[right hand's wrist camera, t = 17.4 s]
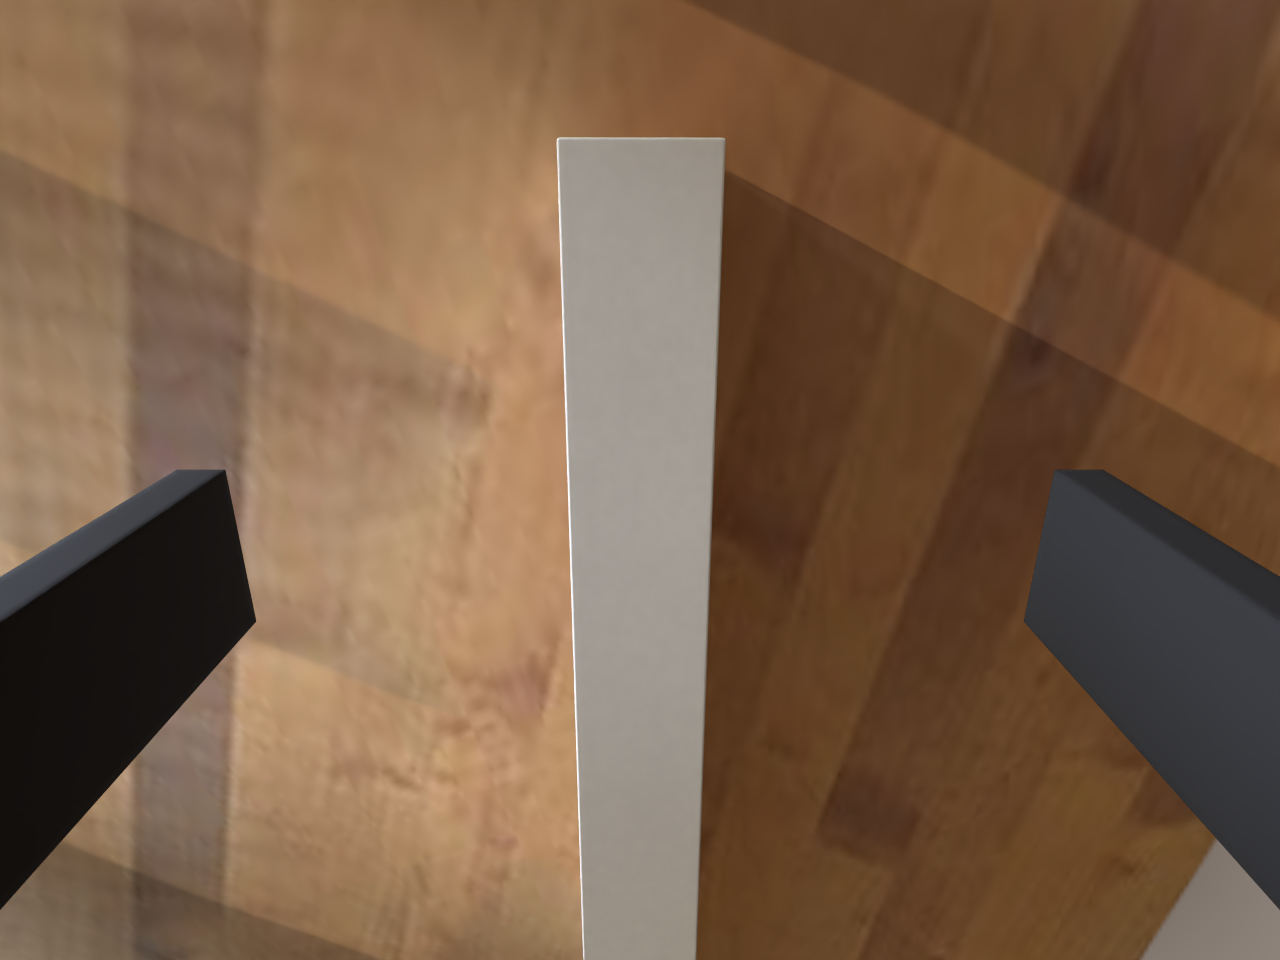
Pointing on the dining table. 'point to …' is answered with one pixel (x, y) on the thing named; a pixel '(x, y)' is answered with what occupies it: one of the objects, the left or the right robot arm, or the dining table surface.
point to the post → (640, 521)
